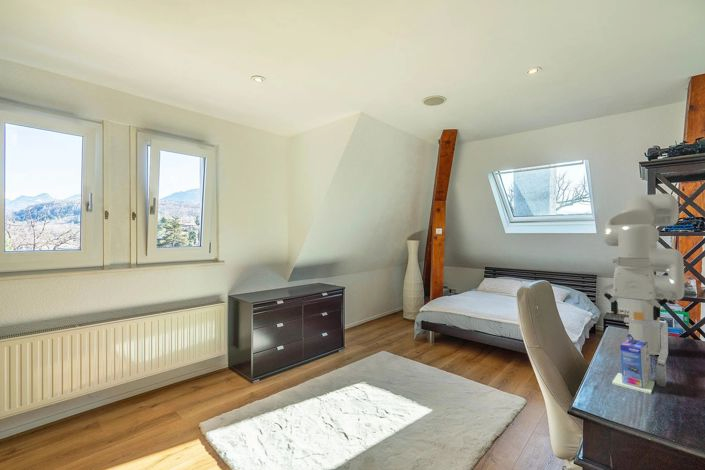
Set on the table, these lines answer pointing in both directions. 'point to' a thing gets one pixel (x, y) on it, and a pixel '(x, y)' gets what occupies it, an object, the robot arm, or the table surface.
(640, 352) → the ink cartridge box
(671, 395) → the table surface
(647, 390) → the felt pad
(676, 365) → the table surface
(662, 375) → the rail block
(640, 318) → the grey angled frame
